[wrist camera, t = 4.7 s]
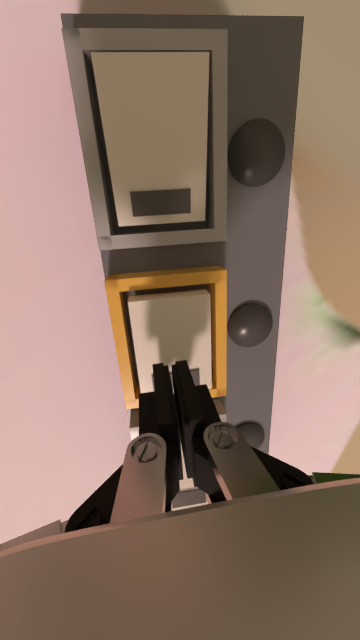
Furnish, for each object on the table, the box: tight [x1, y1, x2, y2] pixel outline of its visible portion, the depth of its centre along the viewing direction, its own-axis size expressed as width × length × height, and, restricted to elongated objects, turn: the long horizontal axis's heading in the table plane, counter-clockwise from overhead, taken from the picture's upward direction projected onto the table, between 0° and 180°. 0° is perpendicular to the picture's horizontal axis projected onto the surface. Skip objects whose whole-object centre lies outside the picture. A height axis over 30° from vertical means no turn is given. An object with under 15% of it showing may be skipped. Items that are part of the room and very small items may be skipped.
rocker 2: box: [172, 446, 208, 511], centre depth 17 cm, size 6×4×1 cm
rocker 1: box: [91, 52, 209, 226], centre depth 11 cm, size 6×4×1 cm
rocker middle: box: [128, 289, 212, 393], centre depth 14 cm, size 6×4×1 cm
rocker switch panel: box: [61, 14, 304, 454], centre depth 16 cm, size 28×10×4 cm, turn 3°
